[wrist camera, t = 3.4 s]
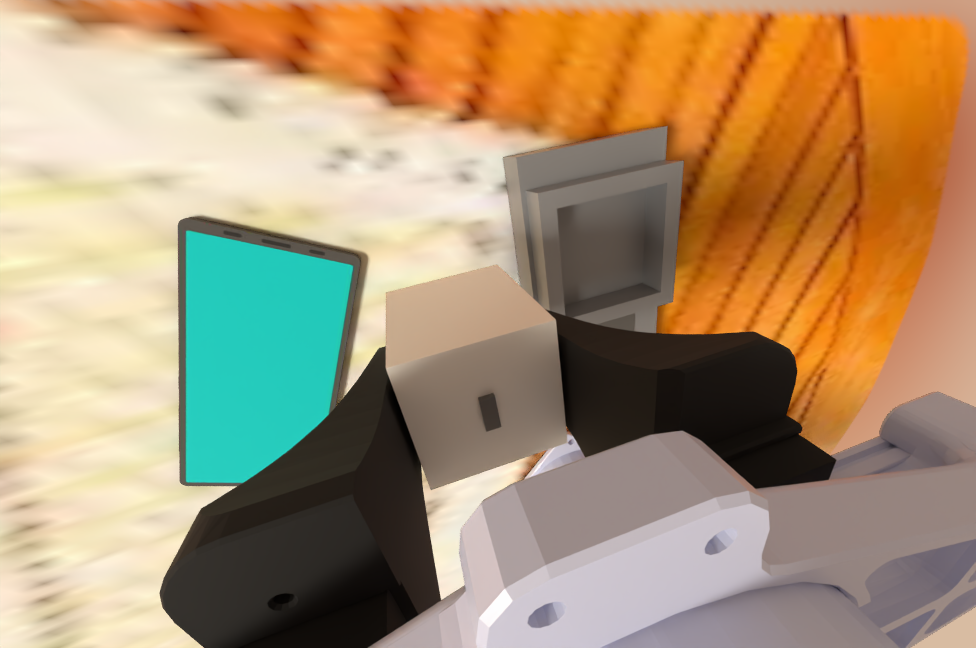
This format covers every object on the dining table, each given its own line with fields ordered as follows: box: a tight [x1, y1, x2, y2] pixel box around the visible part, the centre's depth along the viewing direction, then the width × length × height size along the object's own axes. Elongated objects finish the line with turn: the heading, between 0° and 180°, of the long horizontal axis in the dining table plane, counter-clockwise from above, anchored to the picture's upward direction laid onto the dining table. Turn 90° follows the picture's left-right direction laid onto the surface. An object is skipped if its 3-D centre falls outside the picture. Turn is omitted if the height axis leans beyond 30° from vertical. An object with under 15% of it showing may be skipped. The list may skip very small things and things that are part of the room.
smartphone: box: [178, 217, 361, 486], centre depth 19 cm, size 7×1×15 cm
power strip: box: [503, 126, 684, 333], centre depth 21 cm, size 20×8×4 cm, turn 11°
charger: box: [386, 265, 568, 490], centre depth 11 cm, size 4×4×5 cm
